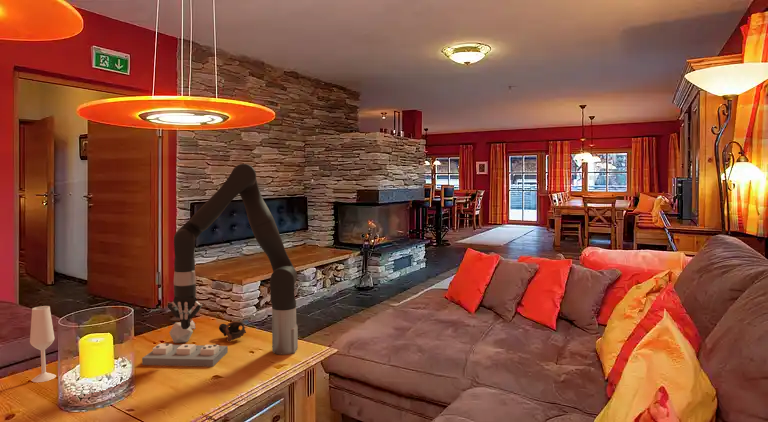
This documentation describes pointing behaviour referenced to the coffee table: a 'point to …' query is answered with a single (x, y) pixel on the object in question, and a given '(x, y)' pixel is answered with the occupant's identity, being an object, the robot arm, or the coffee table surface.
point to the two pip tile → (162, 349)
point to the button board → (184, 358)
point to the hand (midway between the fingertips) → (185, 328)
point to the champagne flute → (42, 337)
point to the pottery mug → (232, 330)
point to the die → (180, 333)
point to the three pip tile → (210, 350)
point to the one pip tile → (186, 349)
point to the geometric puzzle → (192, 324)
